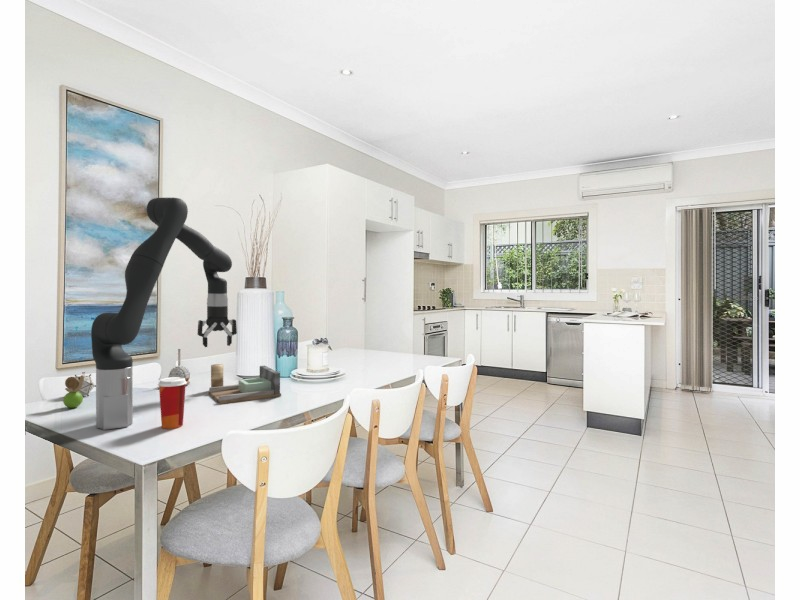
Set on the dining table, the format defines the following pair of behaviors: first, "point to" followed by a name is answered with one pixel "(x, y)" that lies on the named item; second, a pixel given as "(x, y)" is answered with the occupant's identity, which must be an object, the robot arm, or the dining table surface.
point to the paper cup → (172, 401)
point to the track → (234, 395)
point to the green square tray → (254, 385)
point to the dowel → (216, 375)
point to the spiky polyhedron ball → (86, 385)
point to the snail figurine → (73, 391)
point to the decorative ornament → (180, 371)
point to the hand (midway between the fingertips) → (217, 346)
